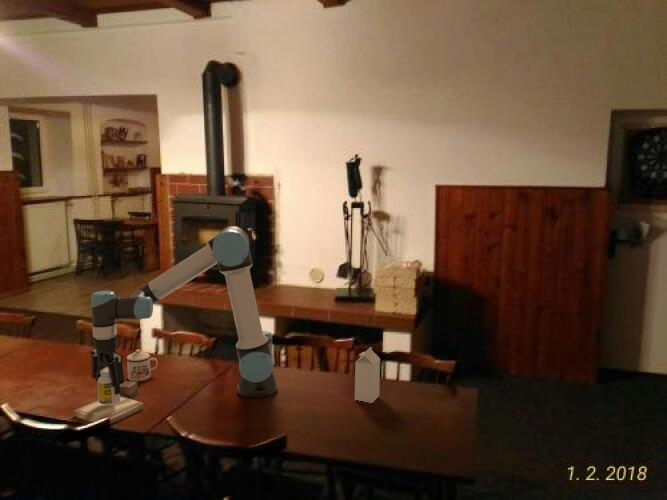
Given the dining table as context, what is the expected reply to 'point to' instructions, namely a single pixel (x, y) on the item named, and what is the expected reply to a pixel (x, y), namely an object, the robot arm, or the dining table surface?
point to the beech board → (109, 410)
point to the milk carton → (367, 377)
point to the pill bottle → (105, 387)
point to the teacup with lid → (139, 366)
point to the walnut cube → (128, 389)
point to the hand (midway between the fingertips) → (109, 400)
